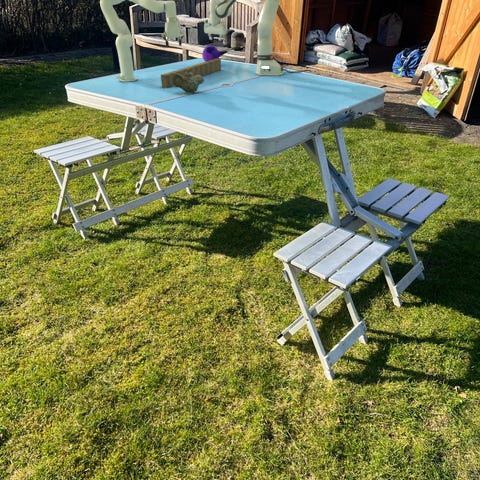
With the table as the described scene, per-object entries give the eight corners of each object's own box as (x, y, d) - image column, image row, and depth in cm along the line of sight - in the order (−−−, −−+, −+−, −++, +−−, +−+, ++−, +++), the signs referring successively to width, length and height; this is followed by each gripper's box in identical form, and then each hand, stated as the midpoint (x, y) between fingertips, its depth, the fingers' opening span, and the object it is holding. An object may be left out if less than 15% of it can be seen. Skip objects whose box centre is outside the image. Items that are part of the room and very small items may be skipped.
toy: (212, 67, 383) (203, 66, 406) (231, 60, 386) (220, 59, 410) (206, 48, 375) (197, 48, 399) (225, 41, 378) (215, 41, 402)
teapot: (202, 89, 310) (201, 66, 302) (206, 92, 300) (205, 69, 293) (172, 92, 304) (169, 68, 296) (175, 95, 295) (173, 71, 287)
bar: (167, 87, 317) (166, 75, 312) (161, 87, 319) (160, 74, 314) (221, 69, 375) (220, 58, 371) (216, 69, 377) (215, 58, 373)
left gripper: (181, 19, 325) (183, 44, 334) (158, 20, 319) (161, 46, 328) (184, 19, 320) (186, 45, 328) (161, 21, 313) (164, 47, 322)
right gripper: (228, 21, 349) (228, 40, 356) (207, 20, 360) (208, 38, 367) (223, 22, 345) (223, 41, 352) (202, 20, 355) (203, 39, 362)
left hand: (173, 46), depth 328 cm, fingers open, 9 cm apart
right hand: (215, 40), depth 360 cm, fingers open, 8 cm apart
